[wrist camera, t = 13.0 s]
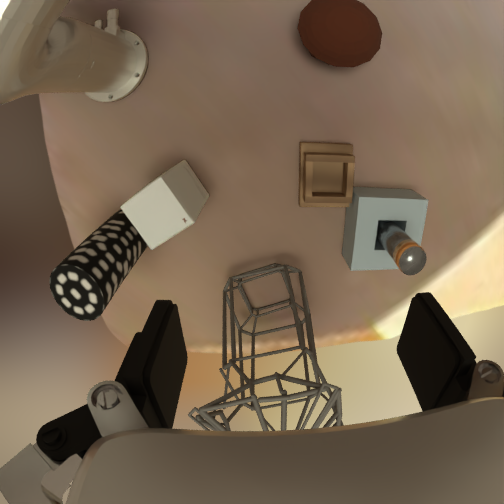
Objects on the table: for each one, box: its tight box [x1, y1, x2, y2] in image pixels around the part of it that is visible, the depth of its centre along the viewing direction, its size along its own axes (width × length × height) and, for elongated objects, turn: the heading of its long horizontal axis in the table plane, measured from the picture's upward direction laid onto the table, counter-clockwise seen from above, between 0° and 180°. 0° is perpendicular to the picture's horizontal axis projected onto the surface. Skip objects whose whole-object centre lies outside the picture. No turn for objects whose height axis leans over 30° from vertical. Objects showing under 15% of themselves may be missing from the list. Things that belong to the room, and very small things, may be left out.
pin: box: [376, 220, 426, 275], centre depth 43 cm, size 4×4×14 cm
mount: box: [299, 142, 355, 207], centre depth 45 cm, size 10×8×4 cm
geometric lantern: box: [188, 264, 344, 431], centre depth 40 cm, size 16×16×35 cm
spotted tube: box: [50, 210, 148, 321], centre depth 42 cm, size 8×8×20 cm
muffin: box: [298, 0, 382, 67], centre depth 32 cm, size 12×11×10 cm
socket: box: [342, 187, 428, 271], centre depth 47 cm, size 12×12×6 cm
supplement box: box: [120, 160, 209, 250], centre depth 42 cm, size 7×7×13 cm
